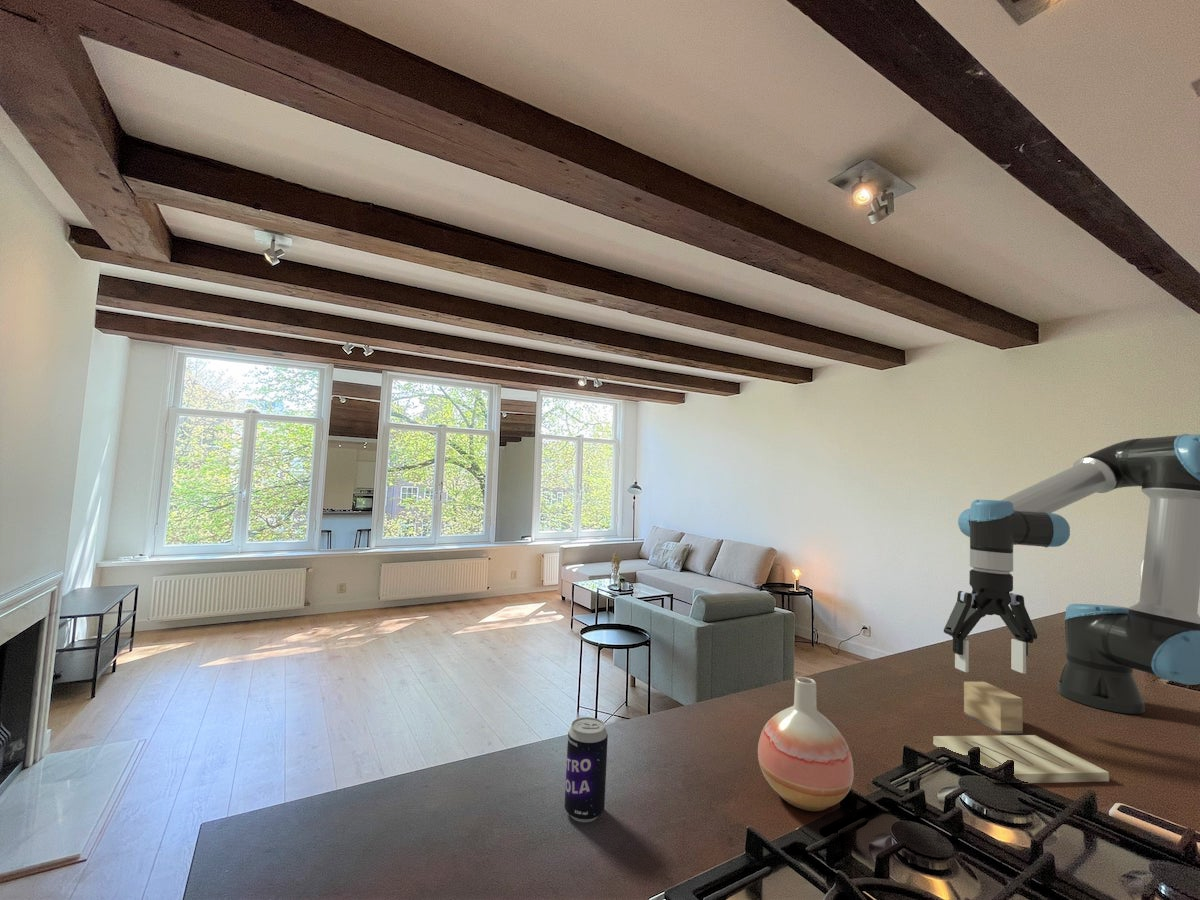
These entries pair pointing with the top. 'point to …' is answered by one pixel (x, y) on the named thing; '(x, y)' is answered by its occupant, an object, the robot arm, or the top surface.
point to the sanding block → (993, 707)
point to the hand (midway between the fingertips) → (990, 670)
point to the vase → (805, 754)
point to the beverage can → (586, 769)
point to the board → (1027, 757)
